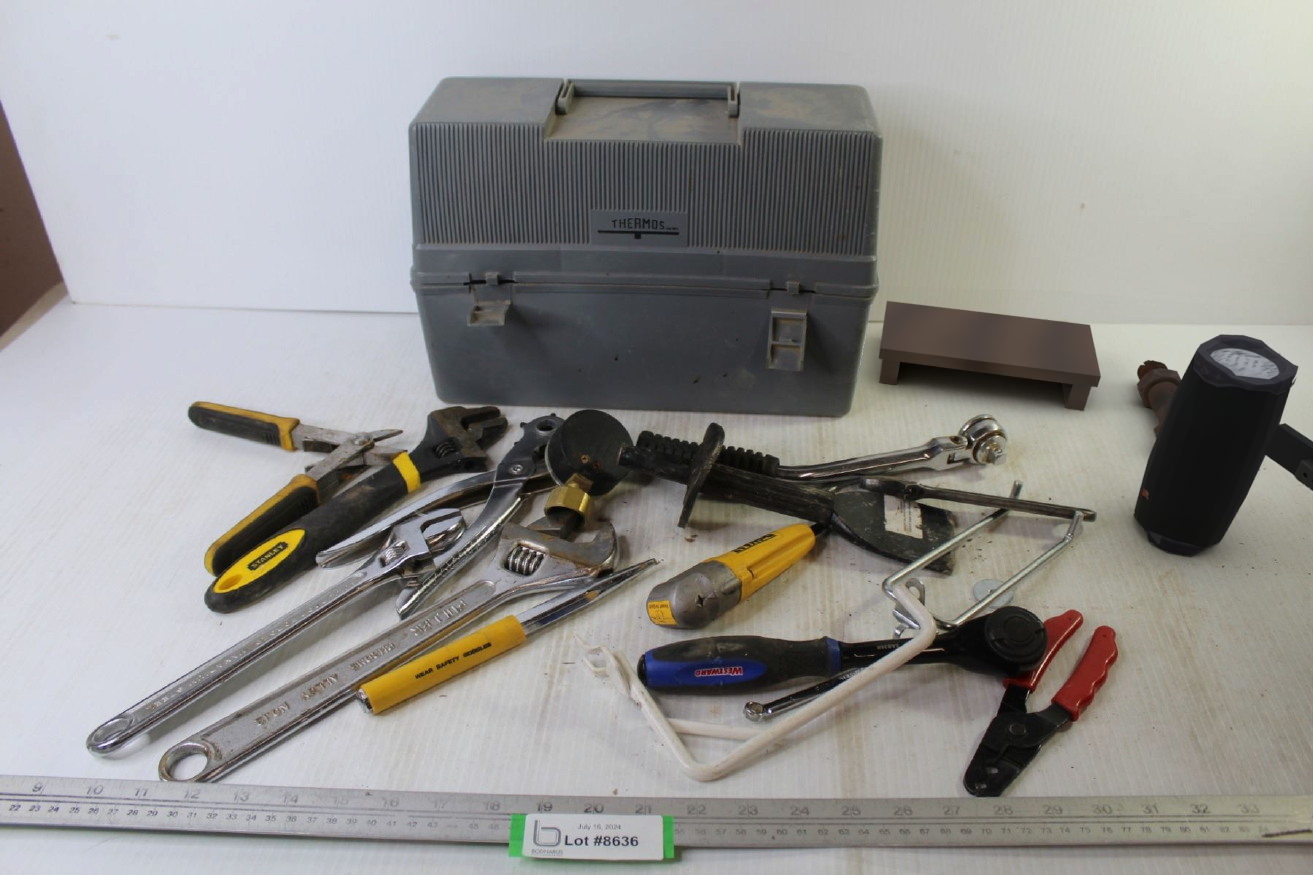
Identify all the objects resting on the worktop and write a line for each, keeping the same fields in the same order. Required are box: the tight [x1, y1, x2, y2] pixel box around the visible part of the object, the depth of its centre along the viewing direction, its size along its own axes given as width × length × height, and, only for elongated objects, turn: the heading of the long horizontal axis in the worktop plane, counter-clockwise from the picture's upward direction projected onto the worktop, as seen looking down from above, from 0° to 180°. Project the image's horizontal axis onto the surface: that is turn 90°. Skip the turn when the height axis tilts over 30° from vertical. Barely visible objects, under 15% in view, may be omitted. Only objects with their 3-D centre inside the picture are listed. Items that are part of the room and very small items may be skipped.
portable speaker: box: [1132, 333, 1299, 557], centre depth 88 cm, size 9×9×20 cm
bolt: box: [1136, 359, 1182, 439], centre depth 107 cm, size 6×5×15 cm
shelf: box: [878, 300, 1102, 411], centre depth 115 cm, size 24×12×5 cm, turn 75°
